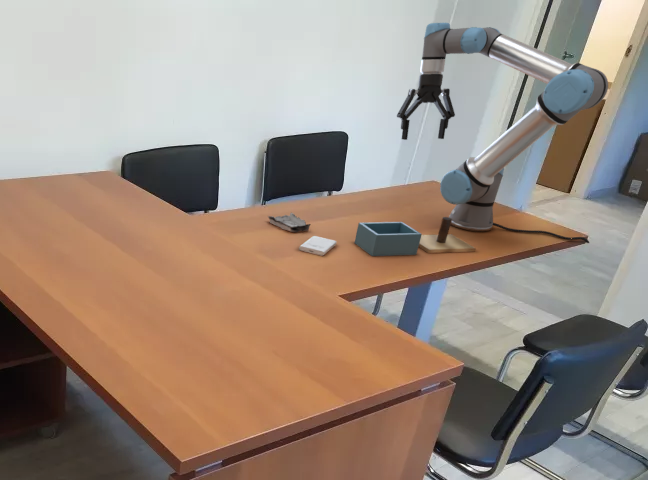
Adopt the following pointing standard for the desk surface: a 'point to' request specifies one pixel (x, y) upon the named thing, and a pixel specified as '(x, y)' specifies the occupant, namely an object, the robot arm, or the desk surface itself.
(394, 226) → the toy box
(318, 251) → the hard drive
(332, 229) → the desk surface
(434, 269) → the desk surface
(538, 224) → the desk surface
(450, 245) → the tan piece
